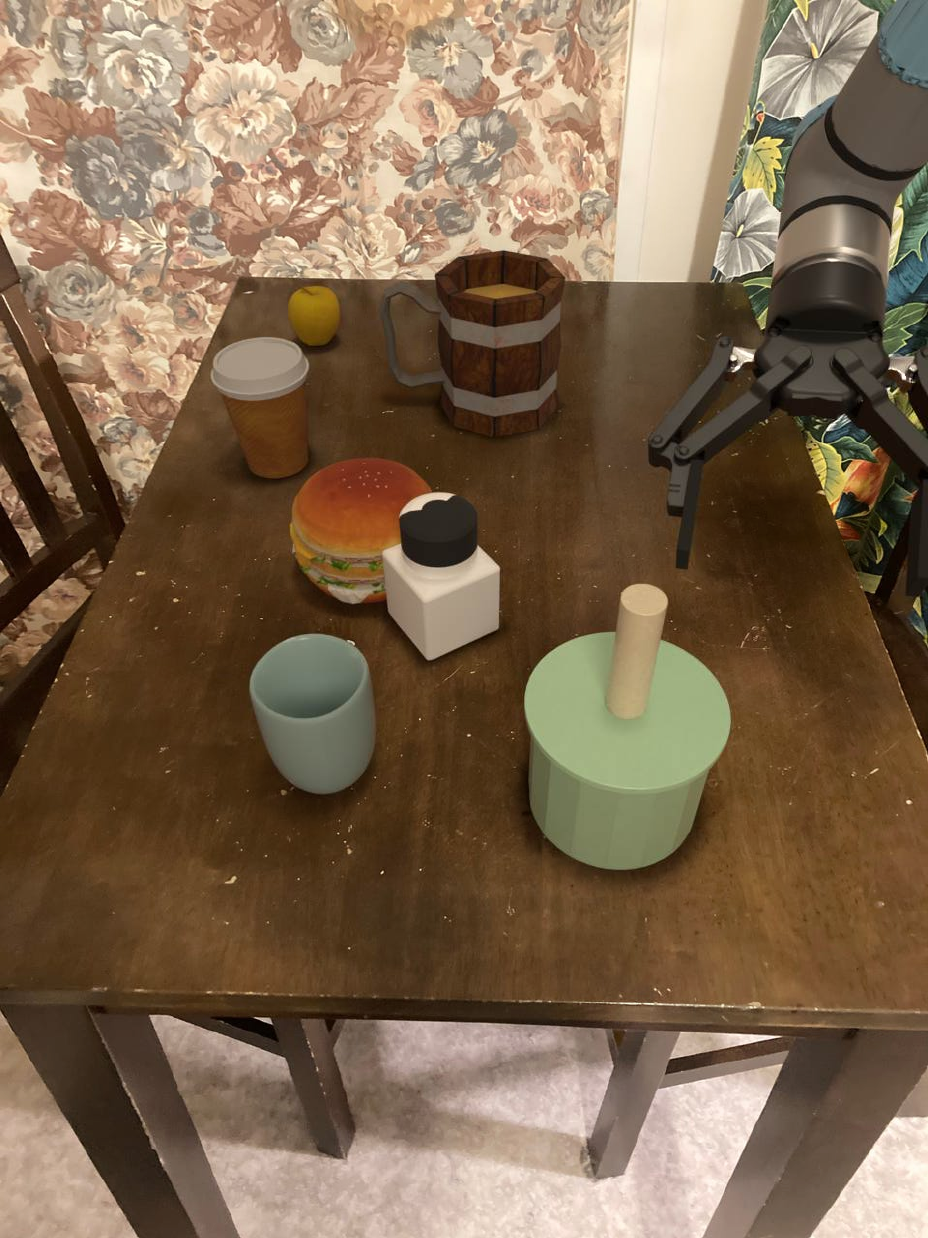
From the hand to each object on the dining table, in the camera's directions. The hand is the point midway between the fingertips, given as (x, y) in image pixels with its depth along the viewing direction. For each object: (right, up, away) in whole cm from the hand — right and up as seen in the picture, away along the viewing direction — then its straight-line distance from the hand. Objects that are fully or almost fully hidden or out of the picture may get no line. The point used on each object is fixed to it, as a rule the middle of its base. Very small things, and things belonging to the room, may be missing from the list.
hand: (795, 573), depth 53 cm
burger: (-29, +2, +27) cm, 40 cm away
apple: (-39, +32, +58) cm, 77 cm away
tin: (-10, -15, +9) cm, 20 cm away
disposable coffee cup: (-40, +14, +40) cm, 58 cm away
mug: (-19, +22, +47) cm, 55 cm away
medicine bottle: (-22, -3, +22) cm, 31 cm away
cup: (-30, -14, +11) cm, 35 cm away
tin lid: (-10, -8, +2) cm, 13 cm away
